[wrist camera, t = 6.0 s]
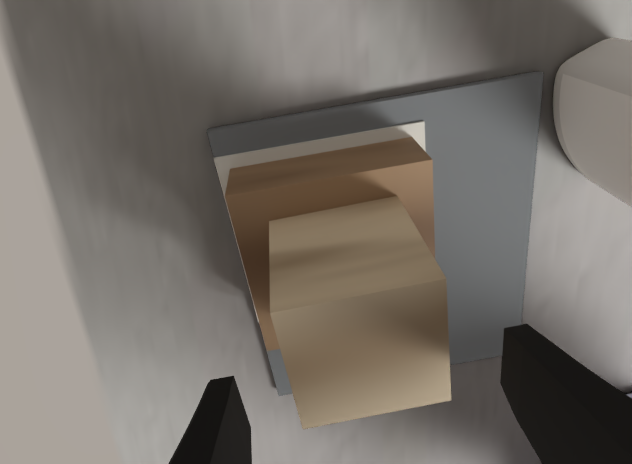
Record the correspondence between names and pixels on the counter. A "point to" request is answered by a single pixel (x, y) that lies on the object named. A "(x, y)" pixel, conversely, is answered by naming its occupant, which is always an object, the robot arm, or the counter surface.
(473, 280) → the slate mat
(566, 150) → the eye dropper bottle
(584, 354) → the counter surface
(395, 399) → the beech block
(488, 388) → the counter surface
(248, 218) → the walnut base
